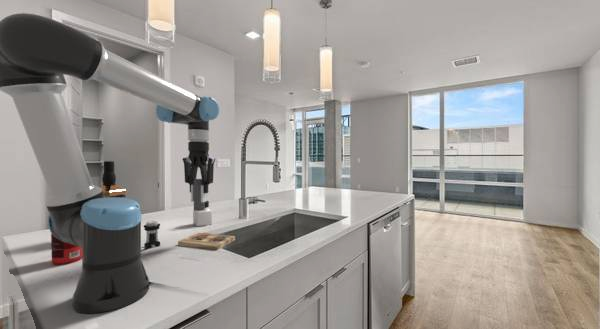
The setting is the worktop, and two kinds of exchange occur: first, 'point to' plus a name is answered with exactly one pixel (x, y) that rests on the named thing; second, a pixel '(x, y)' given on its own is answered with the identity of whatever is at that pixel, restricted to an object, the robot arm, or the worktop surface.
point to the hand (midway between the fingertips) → (199, 201)
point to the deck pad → (196, 254)
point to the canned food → (64, 252)
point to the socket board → (207, 241)
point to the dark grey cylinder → (198, 195)
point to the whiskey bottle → (111, 182)
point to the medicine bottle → (202, 216)
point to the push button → (151, 235)
